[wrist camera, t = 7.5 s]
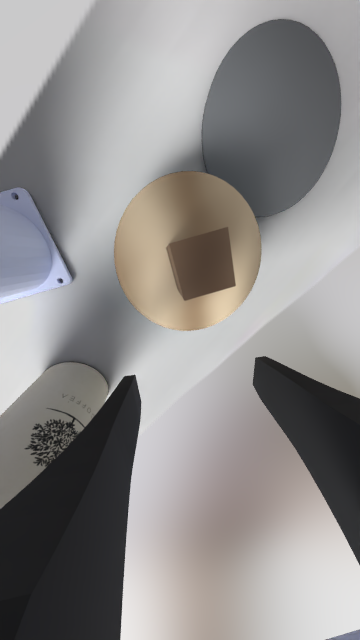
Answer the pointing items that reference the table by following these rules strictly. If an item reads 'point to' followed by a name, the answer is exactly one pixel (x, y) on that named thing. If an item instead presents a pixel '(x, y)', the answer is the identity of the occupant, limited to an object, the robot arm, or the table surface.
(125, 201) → the table surface
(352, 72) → the table surface
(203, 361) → the table surface
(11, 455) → the travel mug
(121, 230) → the lid
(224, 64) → the mat
